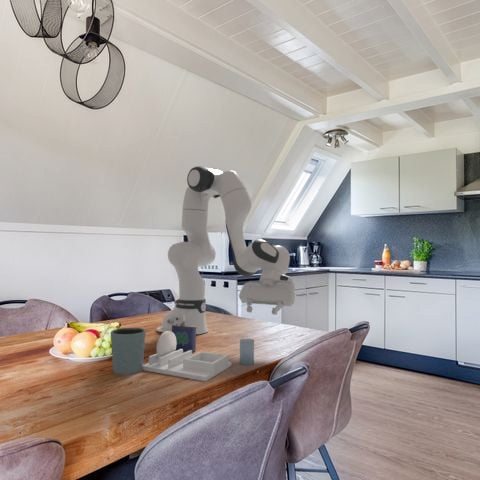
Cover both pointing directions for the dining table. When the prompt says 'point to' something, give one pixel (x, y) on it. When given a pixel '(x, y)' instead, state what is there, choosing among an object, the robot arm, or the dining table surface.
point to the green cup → (128, 350)
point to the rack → (185, 360)
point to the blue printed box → (185, 336)
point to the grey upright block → (246, 351)
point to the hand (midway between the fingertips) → (261, 312)
